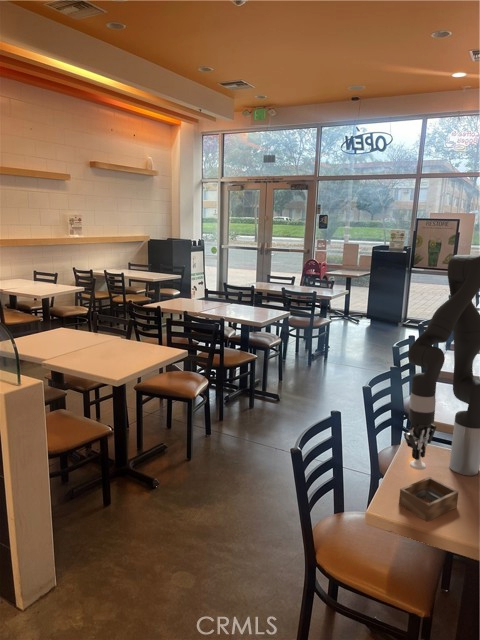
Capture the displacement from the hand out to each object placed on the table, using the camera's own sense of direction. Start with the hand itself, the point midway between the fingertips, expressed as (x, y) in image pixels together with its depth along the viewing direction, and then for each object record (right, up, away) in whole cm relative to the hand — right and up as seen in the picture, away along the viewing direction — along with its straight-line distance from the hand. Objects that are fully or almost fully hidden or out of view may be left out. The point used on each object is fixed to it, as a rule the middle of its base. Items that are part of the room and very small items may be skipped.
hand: (418, 457), depth 148 cm
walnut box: (0, -12, -8) cm, 15 cm away
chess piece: (0, -3, +1) cm, 3 cm away
